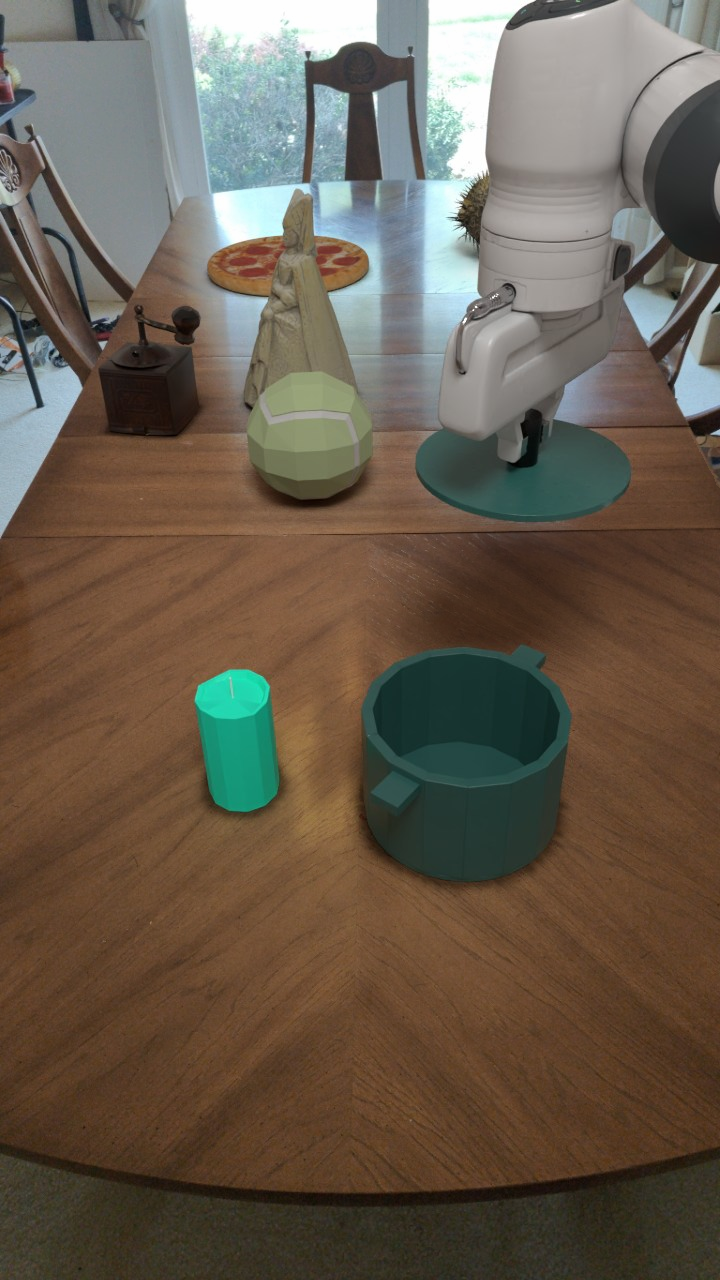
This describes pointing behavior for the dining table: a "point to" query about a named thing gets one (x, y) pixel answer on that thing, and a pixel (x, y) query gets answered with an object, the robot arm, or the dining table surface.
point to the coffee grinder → (152, 379)
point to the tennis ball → (310, 435)
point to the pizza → (257, 258)
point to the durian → (473, 208)
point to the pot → (464, 761)
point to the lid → (526, 473)
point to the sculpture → (297, 313)
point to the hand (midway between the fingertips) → (524, 448)
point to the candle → (238, 739)
